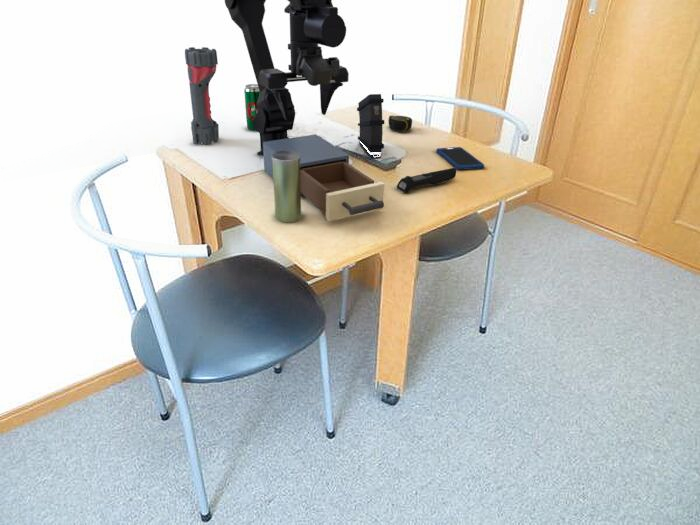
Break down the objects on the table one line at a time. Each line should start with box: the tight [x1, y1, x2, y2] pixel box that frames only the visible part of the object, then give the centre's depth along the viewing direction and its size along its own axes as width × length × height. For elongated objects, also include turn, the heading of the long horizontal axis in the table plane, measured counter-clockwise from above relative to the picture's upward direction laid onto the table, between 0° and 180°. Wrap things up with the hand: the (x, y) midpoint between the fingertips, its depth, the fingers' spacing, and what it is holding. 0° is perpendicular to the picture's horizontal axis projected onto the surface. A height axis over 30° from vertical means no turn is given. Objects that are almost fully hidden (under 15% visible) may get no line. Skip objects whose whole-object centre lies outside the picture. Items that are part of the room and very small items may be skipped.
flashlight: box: [184, 46, 220, 146], centre depth 124 cm, size 8×8×23 cm
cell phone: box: [435, 146, 485, 171], centre depth 125 cm, size 7×14×1 cm, turn 15°
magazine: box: [356, 93, 385, 159], centre depth 125 cm, size 4×13×15 cm, turn 15°
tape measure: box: [387, 115, 413, 133], centre depth 143 cm, size 7×7×4 cm
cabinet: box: [263, 133, 350, 196], centre depth 109 cm, size 16×14×7 cm
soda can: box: [243, 83, 260, 132], centre depth 137 cm, size 5×5×12 cm
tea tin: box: [272, 151, 302, 224], centre depth 92 cm, size 5×5×12 cm
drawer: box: [300, 161, 385, 222], centre depth 97 cm, size 19×12×5 cm, turn 31°
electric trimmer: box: [396, 167, 457, 194], centre depth 110 cm, size 4×16×3 cm, turn 121°
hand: (305, 116), depth 107 cm, fingers open, 9 cm apart
